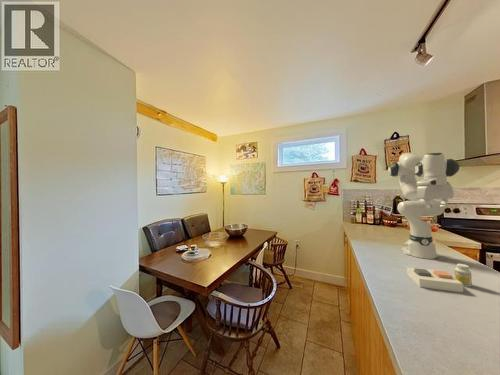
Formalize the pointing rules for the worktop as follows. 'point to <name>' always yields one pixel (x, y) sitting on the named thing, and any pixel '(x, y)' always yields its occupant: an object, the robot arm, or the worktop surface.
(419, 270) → the charcoal key
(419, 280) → the console
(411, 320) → the worktop surface
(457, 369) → the worktop surface
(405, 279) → the worktop surface
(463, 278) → the supplement bottle
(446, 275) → the terracotta key
